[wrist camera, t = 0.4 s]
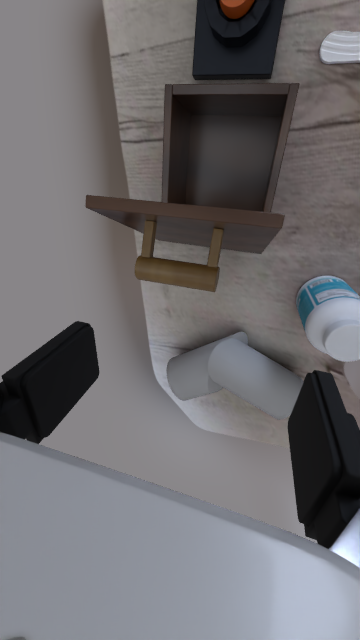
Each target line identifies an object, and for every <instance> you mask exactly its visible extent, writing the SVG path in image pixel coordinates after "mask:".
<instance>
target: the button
mask: <svg viewBox="0 0 360 640" xmlns="http://www.w3.org/2000/svg"><path fill="white" fill-rule="evenodd" d="M219 1H220V6H221V9H222V11H223V13H224V14H225V15H226V16H227V17H228V18H231V19H238V18H240V17H242V16H243V15H245V14H246V13H247V12H248V11H249V9H250V8H251V6H252V4H253V2H254V0H219Z"/></svg>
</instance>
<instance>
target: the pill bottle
mask: <svg viewBox="0 0 360 640" xmlns="http://www.w3.org/2000/svg"><path fill="white" fill-rule="evenodd" d="M296 306H297V309H298V312H299V315H300V318H301V321H302V324H303V327H304V330H305V332H306V335H307V338H308V340H309V341H310V343H311V344H312V345H313V346H314V347H315V348H316V349H318V350H319V351H321V352H323V353H326V354H329V355H330V356H331V357H333V358H334V359H337V360H340V361H356V360H359V359H360V297H359V296H358V294H357V293H356V292H355V291H354V290H353V289H352V288H351V287H350V286H349V285H348V284H347V283H346V282H344V281H343V280H342V279H340V278H337V277H334V276H319V277H316V278H313V279H311V280H309V281H308V282H306V283H305V284H304V285H303V286H302V287H301V288H300V290H299V292H298V294H297V297H296Z"/></svg>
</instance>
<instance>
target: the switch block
mask: <svg viewBox="0 0 360 640" xmlns="http://www.w3.org/2000/svg"><path fill="white" fill-rule="evenodd" d="M284 4H285V0H254V2H253V4H252V6H251V8H250V9H249V11H248V12H247V13H246V14H245V15H243V16H242V17H240V18H238V19H231V18H228V17H227V16H226V15H225V14H224V13H223V11H222V9H221V6H220V1H219V0H197V14H196V29H195V44H194V59H193V74H192V75H193V77H194V79H195V80H228V79H271V75H272V69H273V64H274V58H275V53H276V47H277V42H278V36H279V31H280V25H281V20H282V14H283V9H284Z"/></svg>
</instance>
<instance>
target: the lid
mask: <svg viewBox="0 0 360 640" xmlns="http://www.w3.org/2000/svg"><path fill="white" fill-rule="evenodd" d="M86 208H88V209H90V210H93V211H95V212H97V213H99V214H101V215H104V216H106V217H108V218H110V219H113V220H115V221H117V222H119V223H121V224H124V225H126V226H128V227H131V228H133V229H135V230H137V231H139V232H141V233H143V234H144V235H143V244H142V253H141V256H139V257H138V258H137V261H136V264H135V275H136V278H137V279H139V280H145V281H151V282H157V283H163V284H169V285H175V286H181V287H187V288H193V289H199V290H205V291H211V292H215V291H216V288H217V284H218V278H219V271H220V268H219V267H218V263H219V257H220V251H221V249H227V250H234V251H242V252H250V253H257V254H261V253H262V252H263V251H264V250H265V248H266V247H267V246H268V245H269V243H270V242H271V241H272V239H273V238H274V237H275V236H276V234H277V233H278V232H279V231H280V229H281V228H282V225H283V221H284V216H285V215H284V214H280V213H269V212H259V211H248V210H238V209H227V208H217V207H207V206H196V205H186V204H175V203H165V202H154V201H144V200H134V199H123V198H112V197H102V196H91V195H87V196H86ZM155 239H157V240H159V241H166V242H173V243H181V244H189V245H196V246H204V247H210V251H209V257H208V263H207V265H202V264H195V263H189V262H182V261H175V260H168V259H161V258H154V257H153V251H154V243H155Z"/></svg>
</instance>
